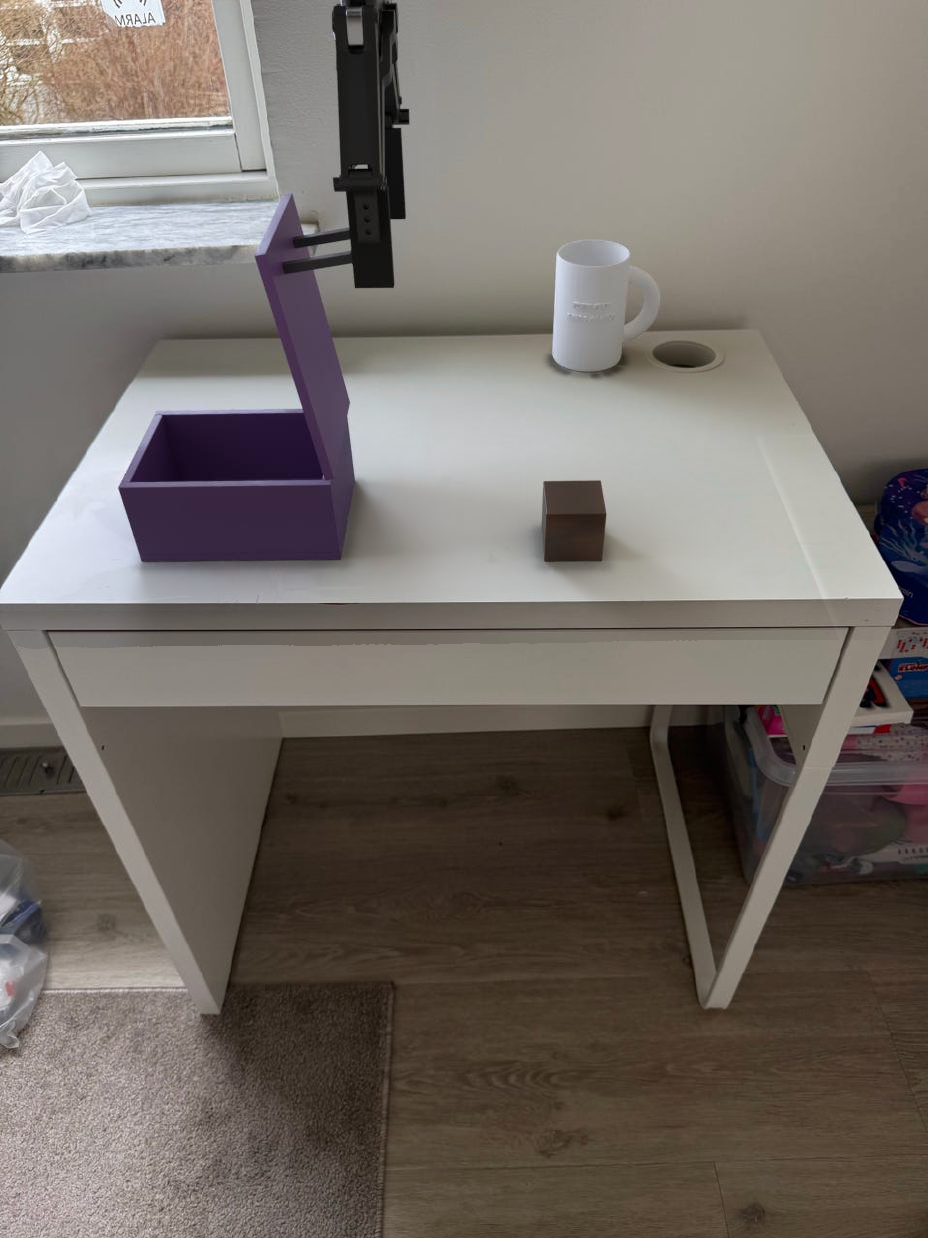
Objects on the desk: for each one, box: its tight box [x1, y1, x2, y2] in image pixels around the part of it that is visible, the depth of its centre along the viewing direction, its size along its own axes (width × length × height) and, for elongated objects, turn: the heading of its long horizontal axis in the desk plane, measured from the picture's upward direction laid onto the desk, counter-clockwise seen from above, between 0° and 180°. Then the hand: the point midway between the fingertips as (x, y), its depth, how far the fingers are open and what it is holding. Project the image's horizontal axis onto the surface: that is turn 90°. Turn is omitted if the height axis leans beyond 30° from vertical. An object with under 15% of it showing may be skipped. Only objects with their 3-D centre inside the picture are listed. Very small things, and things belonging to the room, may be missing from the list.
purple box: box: [117, 408, 356, 562], centre depth 85 cm, size 18×13×8 cm
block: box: [541, 479, 607, 562], centre depth 82 cm, size 5×5×5 cm
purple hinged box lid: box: [254, 193, 353, 481], centre depth 75 cm, size 19×13×8 cm
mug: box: [551, 239, 661, 373], centre depth 106 cm, size 8×12×12 cm
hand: (382, 249), depth 71 cm, fingers open, 13 cm apart
